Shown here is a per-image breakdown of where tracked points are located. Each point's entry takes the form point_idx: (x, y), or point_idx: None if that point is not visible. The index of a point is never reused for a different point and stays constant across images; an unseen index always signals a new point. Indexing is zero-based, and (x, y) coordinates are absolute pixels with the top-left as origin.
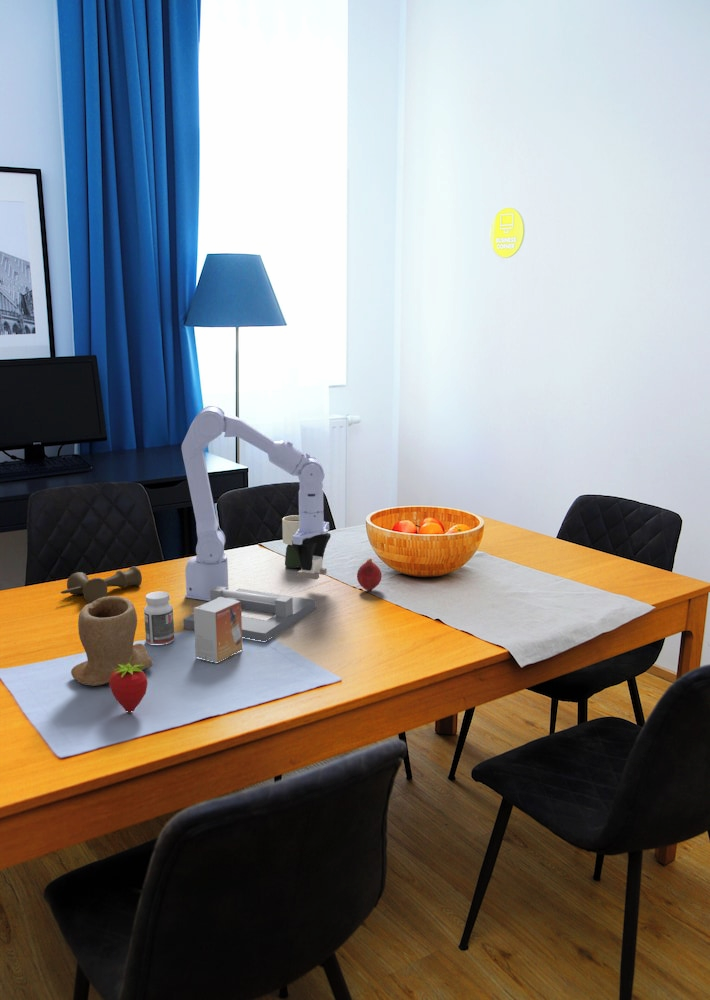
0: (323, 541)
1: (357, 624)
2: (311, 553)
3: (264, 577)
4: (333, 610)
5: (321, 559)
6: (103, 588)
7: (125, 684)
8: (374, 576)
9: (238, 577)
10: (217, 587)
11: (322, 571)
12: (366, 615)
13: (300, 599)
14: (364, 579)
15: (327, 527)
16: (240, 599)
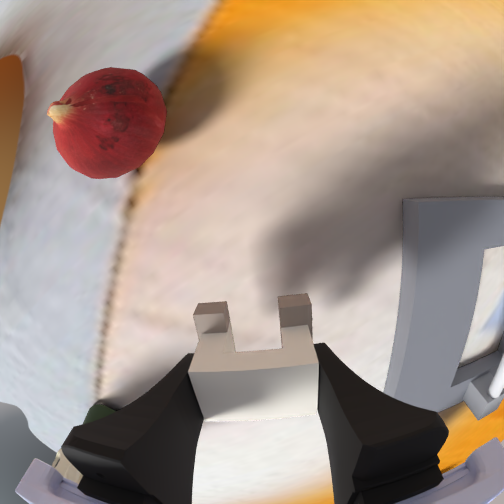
0: (151, 443)
1: (427, 36)
2: (374, 395)
3: (224, 447)
4: (387, 134)
5: (201, 362)
6: None
7: None
8: (133, 70)
9: (257, 471)
10: (486, 413)
11: (226, 315)
12: (362, 27)
13: (429, 255)
14: (161, 104)
15: (42, 481)
16: (451, 381)
